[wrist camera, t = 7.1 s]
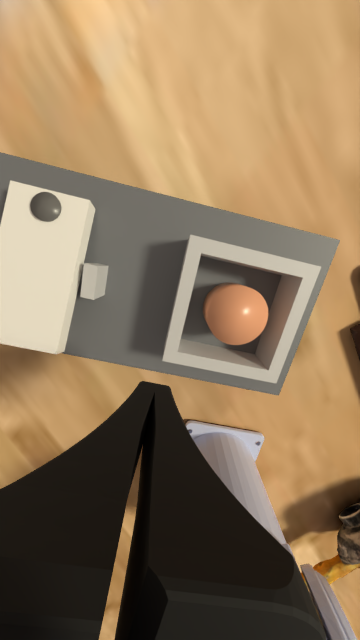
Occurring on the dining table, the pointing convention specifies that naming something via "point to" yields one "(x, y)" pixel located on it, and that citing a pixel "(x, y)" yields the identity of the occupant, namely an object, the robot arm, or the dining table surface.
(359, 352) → the ice cream bar
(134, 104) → the dining table surface
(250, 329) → the button
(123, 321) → the grey board with tray
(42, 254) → the rocker switch
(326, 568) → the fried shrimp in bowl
